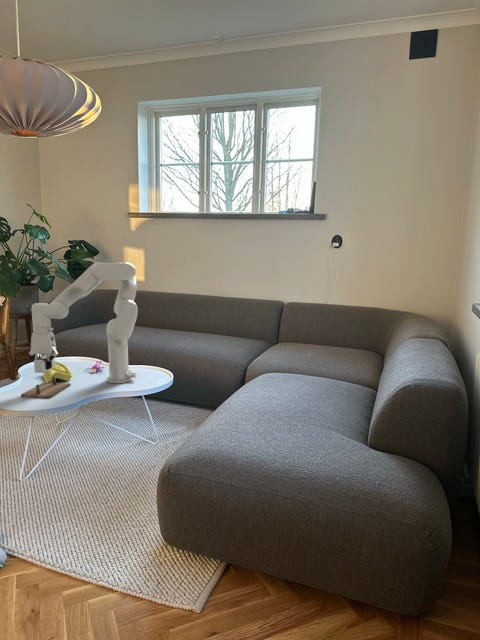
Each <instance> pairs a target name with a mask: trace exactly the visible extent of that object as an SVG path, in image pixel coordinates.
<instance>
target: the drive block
mask: <svg viewBox="0 0 480 640" xmlns="http://www.w3.org/2000/svg"><path fill="white" fill-rule="evenodd" d="M46 361H47V357H46V355H43V356H42V355H41V357H39V358H37V359H33V365H34V366H33V367H34V373H36V374H37V373H38V374H44V372H46V371H48V370H47V364H46ZM54 367H55V357H54V358H53V360H52V368H54ZM52 368H51V369H52ZM49 370H50V369H49Z"/></svg>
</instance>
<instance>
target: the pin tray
mask: <svg viewBox="0 0 480 640" xmlns="http://www.w3.org/2000/svg"><path fill="white" fill-rule="evenodd" d="M52 379H53V380H52V382H50V383H48V382H45V381H43V382H42V383H39V384H36V385H35V386H34V387H32V388H31V389H28V390H26V391H25V392H23V393H21V394H20V397H21V398H30V399H31V398H33V399H35V398H36V399H52V398H53V397H55V396H56V395H58V394H60V393H61V392H63V391H65V390H66V389H68V388H69V387H71V383H70V382H69V383H68V382H66V383H65V382H57V381H56V380H57V378H56V377H55V376H52Z"/></svg>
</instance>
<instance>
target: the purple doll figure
mask: <svg viewBox="0 0 480 640" xmlns="http://www.w3.org/2000/svg"><path fill="white" fill-rule="evenodd" d="M101 363H102V361H101V360H100V361H98V360H97V361H96V363H95V364H94V365H92V367H91V368H90V367H88V368H85V369H84V372H86V371H87V370H91V371H89V373H90V374H91V375H93V374H95V373H102V372H103V370H102V369H106V366H102V367H101V366H100V365H101Z"/></svg>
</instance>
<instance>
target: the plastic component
mask: <svg viewBox="0 0 480 640" xmlns="http://www.w3.org/2000/svg"><path fill="white" fill-rule="evenodd" d="M71 372H72V371H70V369H69V368H68V366H66V365H65V364H63V363H62V362H58V361H55V367H54V368H52V369H50V370H48V371H46V372H44V373H42V377H43V378H42V379H43V380H44V382H48V383H52V382H53V379H52V376H55V377H56V379H58V380H62V381H65V382H69V381H71V378H72V377H73V374H72V373H71Z"/></svg>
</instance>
